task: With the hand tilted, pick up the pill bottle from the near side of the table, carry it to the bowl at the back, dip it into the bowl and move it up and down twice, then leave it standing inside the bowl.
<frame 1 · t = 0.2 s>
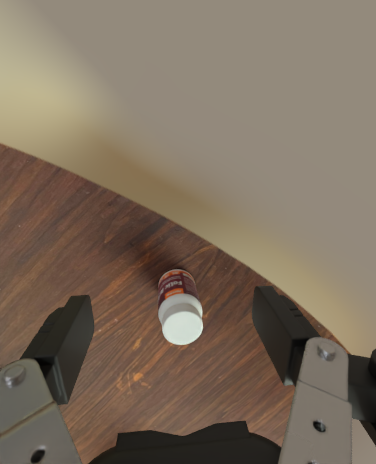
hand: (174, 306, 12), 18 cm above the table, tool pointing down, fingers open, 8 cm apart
pill bottle: (176, 283, 32), on the table
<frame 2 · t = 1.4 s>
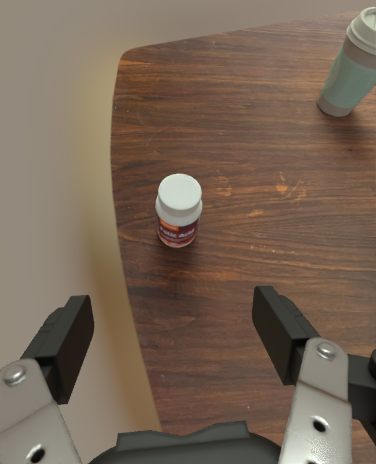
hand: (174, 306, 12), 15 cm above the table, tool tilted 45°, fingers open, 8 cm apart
coffee cup: (332, 106, 43), on the table
pill bottle: (177, 231, 30), on the table
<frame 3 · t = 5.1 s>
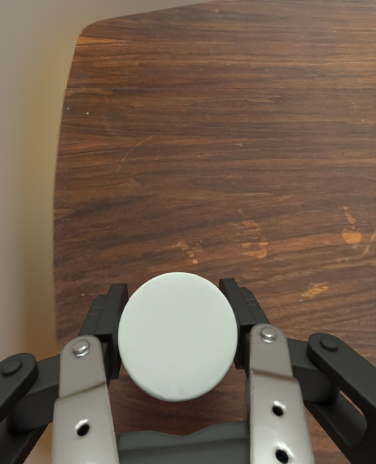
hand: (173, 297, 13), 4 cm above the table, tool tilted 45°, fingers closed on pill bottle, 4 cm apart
pill bottle: (174, 339, 16), on the table, touching gripper
when the fingers open (5 cm above the table, at t = 19.9 s): pill bottle stays where it is, resting on bowl.
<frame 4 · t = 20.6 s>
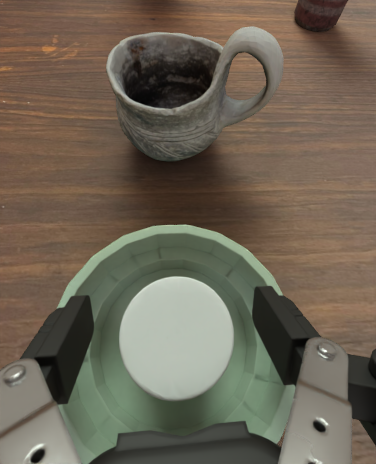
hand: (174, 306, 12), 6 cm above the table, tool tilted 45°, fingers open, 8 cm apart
mug: (186, 141, 25), on the table
bowl: (174, 339, 17), on the table
pill bottle: (174, 340, 16), resting on bowl
can: (313, 22, 36), on the table
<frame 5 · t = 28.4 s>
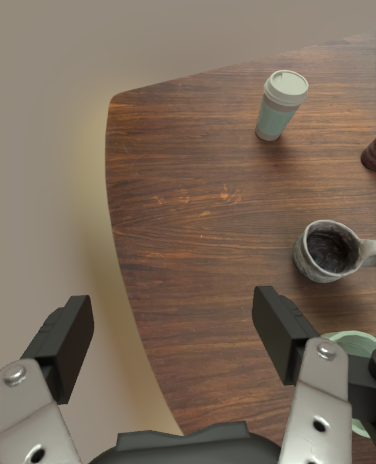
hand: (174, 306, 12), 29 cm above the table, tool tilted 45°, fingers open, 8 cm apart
mug: (318, 261, 45), on the table
bowl: (341, 376, 37), on the table
coffee cup: (266, 132, 58), on the table
can: (372, 161, 56), on the table
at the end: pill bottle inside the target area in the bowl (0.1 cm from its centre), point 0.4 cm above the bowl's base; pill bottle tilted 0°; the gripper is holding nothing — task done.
